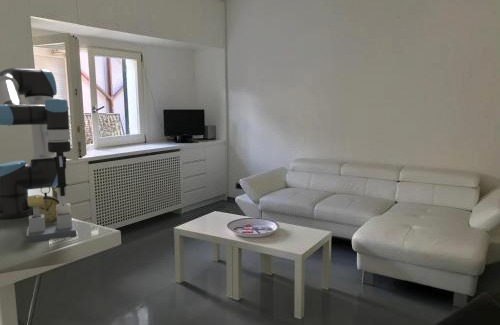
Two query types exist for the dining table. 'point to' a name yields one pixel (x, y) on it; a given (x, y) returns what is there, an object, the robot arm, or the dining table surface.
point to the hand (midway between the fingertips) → (63, 203)
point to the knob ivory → (63, 209)
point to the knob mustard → (35, 204)
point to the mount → (50, 228)
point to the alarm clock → (48, 208)
